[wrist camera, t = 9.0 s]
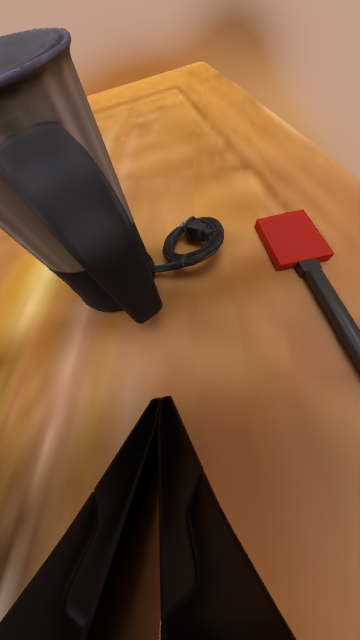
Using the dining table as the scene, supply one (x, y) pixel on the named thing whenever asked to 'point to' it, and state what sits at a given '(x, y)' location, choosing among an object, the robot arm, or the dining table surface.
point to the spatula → (309, 267)
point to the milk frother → (74, 184)
